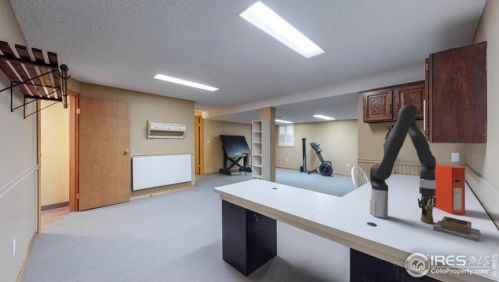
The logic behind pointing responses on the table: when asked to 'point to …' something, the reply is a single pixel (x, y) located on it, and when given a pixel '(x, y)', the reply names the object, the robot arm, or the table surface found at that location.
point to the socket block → (457, 228)
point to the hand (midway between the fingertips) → (427, 214)
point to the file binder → (450, 189)
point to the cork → (428, 215)
